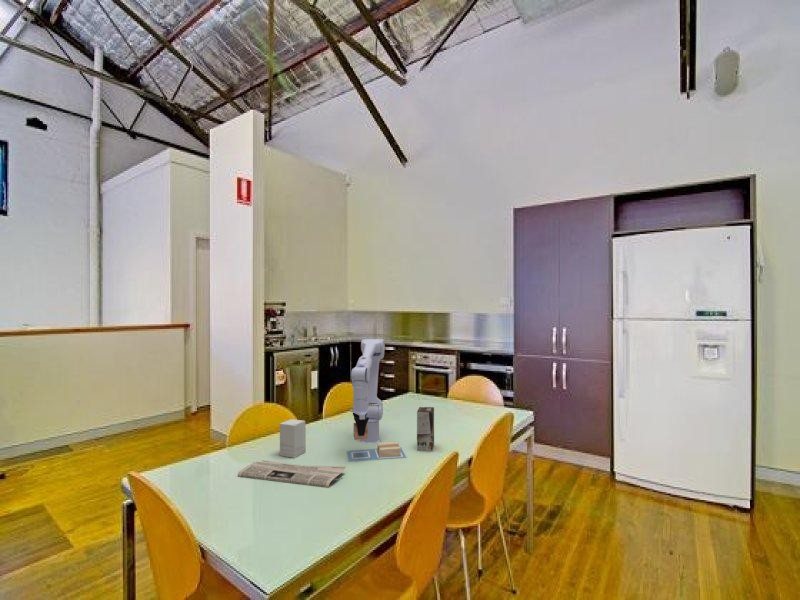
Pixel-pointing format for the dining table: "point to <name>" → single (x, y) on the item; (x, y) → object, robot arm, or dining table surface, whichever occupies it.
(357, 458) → the blueprint board
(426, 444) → the coffee box
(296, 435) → the supplement box
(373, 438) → the robot arm
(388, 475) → the dining table surface
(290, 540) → the dining table surface
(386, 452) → the base block
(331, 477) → the newspaper
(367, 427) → the top block
